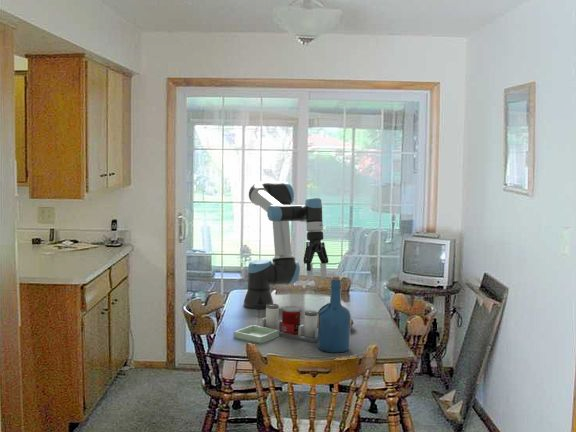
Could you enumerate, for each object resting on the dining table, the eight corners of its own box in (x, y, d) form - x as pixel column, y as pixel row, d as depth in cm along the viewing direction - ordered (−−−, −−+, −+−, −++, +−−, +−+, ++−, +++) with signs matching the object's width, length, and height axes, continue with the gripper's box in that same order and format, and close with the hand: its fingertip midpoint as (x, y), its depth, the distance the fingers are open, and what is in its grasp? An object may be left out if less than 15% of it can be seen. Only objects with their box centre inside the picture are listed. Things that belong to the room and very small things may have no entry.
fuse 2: (301, 337, 297) (302, 312, 296) (308, 334, 302) (308, 309, 300) (312, 339, 294) (313, 314, 293) (319, 336, 299) (320, 312, 298)
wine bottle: (347, 344, 289) (350, 273, 285) (351, 354, 275) (354, 280, 272) (315, 343, 288) (317, 273, 285) (317, 353, 275) (320, 279, 272)
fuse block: (253, 330, 306) (253, 320, 305) (269, 324, 317) (269, 314, 316) (313, 342, 289) (314, 332, 289) (329, 336, 300) (329, 326, 300)
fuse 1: (263, 329, 307) (263, 305, 306) (270, 326, 312) (270, 303, 311) (273, 331, 304) (274, 307, 303) (280, 329, 309) (281, 304, 308)
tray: (233, 338, 292) (233, 331, 292) (252, 331, 304) (252, 324, 304) (260, 344, 285) (260, 337, 285) (278, 336, 297) (279, 330, 297)
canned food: (298, 336, 299) (298, 311, 297) (280, 334, 300) (280, 309, 299) (301, 331, 306) (302, 307, 305) (283, 330, 308) (284, 306, 306)
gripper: (309, 229, 305) (311, 278, 303) (334, 232, 326) (336, 276, 324) (294, 231, 309) (296, 278, 307) (320, 233, 330) (322, 277, 328)
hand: (317, 277), depth 316 cm, fingers open, 13 cm apart
